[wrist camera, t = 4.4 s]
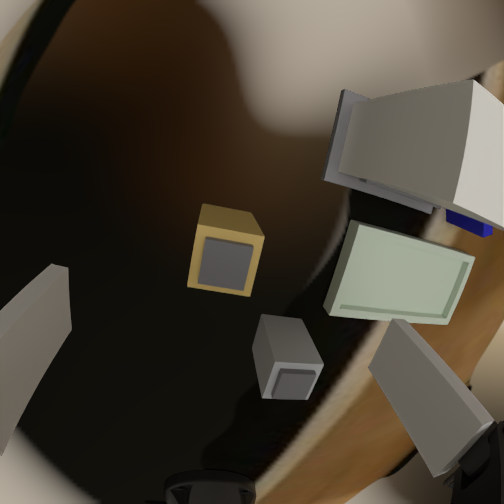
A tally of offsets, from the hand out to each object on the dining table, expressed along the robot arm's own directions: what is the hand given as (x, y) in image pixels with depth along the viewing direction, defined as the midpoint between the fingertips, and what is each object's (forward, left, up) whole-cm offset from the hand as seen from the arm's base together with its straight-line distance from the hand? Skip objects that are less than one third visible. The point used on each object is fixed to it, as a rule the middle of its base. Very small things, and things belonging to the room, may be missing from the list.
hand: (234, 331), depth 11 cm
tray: (-1, -19, -15) cm, 24 cm away
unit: (+10, -13, -15) cm, 22 cm away
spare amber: (0, 0, -15) cm, 15 cm away
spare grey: (-9, -7, -15) cm, 19 cm away
